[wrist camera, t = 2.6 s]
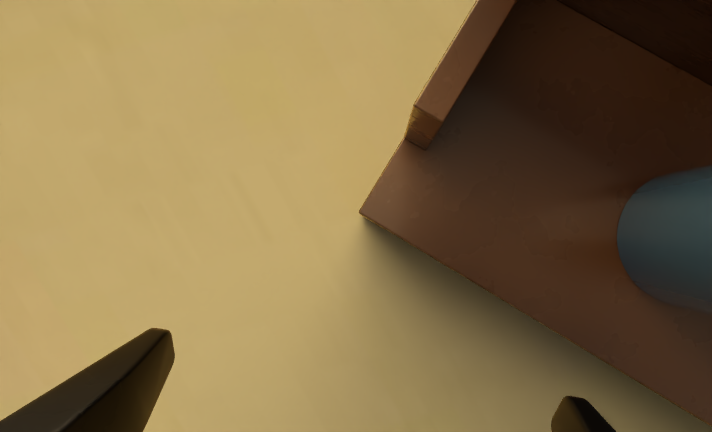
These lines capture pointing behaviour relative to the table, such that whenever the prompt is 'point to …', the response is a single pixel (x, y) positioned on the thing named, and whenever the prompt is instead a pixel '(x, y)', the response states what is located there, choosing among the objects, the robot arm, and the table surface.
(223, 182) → the table surface
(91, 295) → the table surface
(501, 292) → the shelf
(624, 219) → the vase
